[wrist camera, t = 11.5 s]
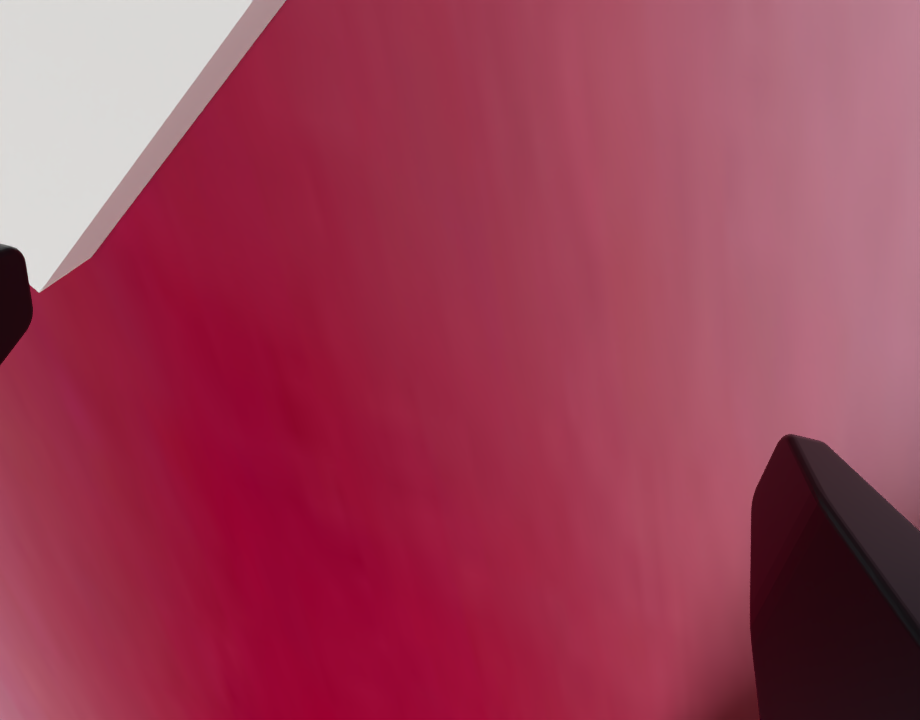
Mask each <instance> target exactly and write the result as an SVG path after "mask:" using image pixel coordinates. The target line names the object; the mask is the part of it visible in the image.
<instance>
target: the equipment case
mask: <svg viewBox="0 0 920 720" xmlns="http://www.w3.org/2000/svg"><path fill="white" fill-rule="evenodd" d="M285 1H286V0H0V244H4V245H8V246H12V247H15V248H17V249H18V250H19V251H20V252H21V253H22V254H23V256H24V258H25V261H26V267H27V273H28V280H29V284H30V285H31V286H32V287H33V288H34V289H36V290H37V291H38V292H39V293H40V292H41V291H43V290H44V289H46V288H47V287H49V286H50V285H51V284H53V283H54V282H56V281H57V280H59V279H60V278H62V277H63V276H65V275H66V274H68V273H69V272H70V271H72V270H73V269H75V268H76V267H78V266H79V265H81V264H82V263H84V262H85V261H87V260H88V259H89V258H91V257H92V256H93V254H94V253H95V252H96V250H97V249H98V248H99V246H100V245H101V244H102V242H103V241H104V240H105V238H106V237H107V236H108V234H109V233H110V232H111V231H112V229H113V228H114V227H115V225H116V224H117V223H118V221H119V220H120V219H121V217H122V216H123V215H124V213H125V212H126V211H127V209H128V208H129V207H130V205H131V204H132V203H133V202H134V200H135V199H136V198H137V196H138V195H139V194H140V192H141V191H142V190H143V188H144V187H145V186H146V184H147V183H148V182H149V180H150V179H151V178H152V176H153V175H154V174H155V172H156V171H157V170H158V169H159V167H160V166H161V165H162V163H163V162H164V161H165V159H166V158H167V157H168V155H169V154H170V153H171V151H172V150H173V149H174V147H175V146H176V145H177V143H178V142H179V141H180V139H181V138H182V137H183V136H184V134H185V133H186V132H187V130H188V129H189V128H190V126H191V125H192V124H193V122H194V121H195V120H196V118H197V117H198V116H199V114H200V113H201V112H202V110H203V109H204V108H205V106H206V105H207V104H208V103H209V101H210V100H211V99H212V97H213V96H214V95H215V93H216V92H217V91H218V89H219V88H220V87H221V85H222V84H223V83H224V81H225V80H226V79H227V77H228V76H229V75H230V74H231V72H232V71H233V70H234V68H235V67H236V66H237V64H238V63H239V62H240V60H241V59H242V58H243V56H244V55H245V54H246V52H247V51H248V50H249V48H250V47H251V46H252V44H253V43H254V42H255V41H256V39H257V38H258V37H259V35H260V34H261V33H262V31H263V30H264V29H265V27H266V26H267V25H268V23H269V22H270V21H271V19H272V18H273V17H274V15H275V14H276V13H277V11H278V10H279V9H280V8H281V6H282V5H283V4H284V2H285Z"/></svg>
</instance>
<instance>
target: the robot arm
mask: <svg viewBox="0 0 920 720" xmlns="http://www.w3.org/2000/svg"><path fill="white" fill-rule="evenodd" d="M32 314H33V306H32V299H31V293H30V286H29V280H28V273H27V267H26V261H25V258H24V256H23V254H22V253H21V252H20V251H19V250H18V249H17V248H15V247H12V246H8V245H4V244H0V365H1V364H2V362H3V361H4V360H5V358H6V357H7V356H8V354H9V353H10V352H11V350H12V349H13V348H14V346H15V345H16V344H17V342H18V341H19V340H20V339H21V337H22V336H23V335H24V333H25V332H26V331H27V329H28V327H29V325H30V323H31V319H32ZM750 631H751V643H752V653H753V662H754V671H755V680H756V688H757V697H758V706H759V715H760V720H920V531H919V530H918V529H917V528H916V527H914V526H913V525H912V524H911V523H910V522H909V521H908V520H907V519H906V518H905V517H904V516H903V515H902V514H901V513H899V512H898V511H897V510H896V509H895V508H894V507H893V506H892V505H891V504H890V503H889V502H888V501H887V500H886V499H884V498H883V497H882V496H881V495H880V494H879V493H878V492H877V491H876V490H875V489H874V488H873V487H872V486H870V485H869V484H868V483H867V482H866V481H865V480H864V479H863V478H862V477H861V476H860V475H859V474H858V473H857V472H855V471H854V470H853V469H852V468H851V467H850V466H849V465H848V464H847V463H846V462H845V461H844V460H843V459H842V458H840V457H839V456H838V455H837V454H836V453H835V452H834V451H833V450H832V449H831V448H830V447H829V446H828V445H826V444H825V443H824V442H821V441H819V440H814V439H810V438H806V437H802V436H798V435H793V434H788V435H785V436H784V437H782V438H781V440H780V441H779V442H778V444H777V446H776V448H775V450H774V452H773V454H772V456H771V458H770V460H769V462H768V464H767V466H766V469H765V471H764V473H763V475H762V477H761V479H760V481H759V483H758V485H757V487H756V490H755V493H754V496H753V501H752V508H751V569H750Z"/></svg>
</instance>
